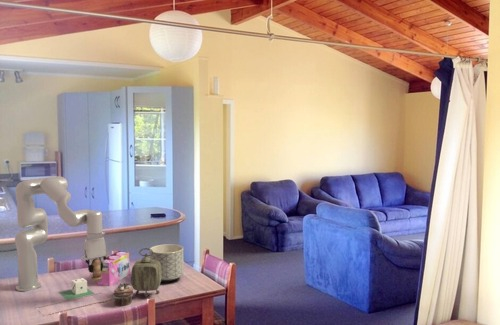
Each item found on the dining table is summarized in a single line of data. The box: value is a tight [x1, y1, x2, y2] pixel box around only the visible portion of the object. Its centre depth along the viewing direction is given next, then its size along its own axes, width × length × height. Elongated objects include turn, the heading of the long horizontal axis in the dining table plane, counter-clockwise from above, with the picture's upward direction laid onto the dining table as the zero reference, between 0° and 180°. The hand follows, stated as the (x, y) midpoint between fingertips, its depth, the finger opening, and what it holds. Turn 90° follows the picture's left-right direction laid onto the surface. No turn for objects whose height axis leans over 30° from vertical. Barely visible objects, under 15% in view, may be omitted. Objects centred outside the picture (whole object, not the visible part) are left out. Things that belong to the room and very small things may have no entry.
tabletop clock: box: [130, 247, 162, 298], centre depth 244 cm, size 14×9×25 cm, turn 92°
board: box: [35, 292, 113, 316], centre depth 233 cm, size 13×33×1 cm, turn 130°
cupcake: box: [112, 282, 134, 307], centre depth 234 cm, size 10×10×10 cm
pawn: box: [91, 258, 102, 282], centre depth 238 cm, size 5×5×11 cm
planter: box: [149, 243, 185, 283], centre depth 270 cm, size 19×19×18 cm
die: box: [71, 277, 88, 295], centre depth 249 cm, size 6×6×6 cm
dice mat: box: [58, 287, 96, 301], centre depth 248 cm, size 14×14×1 cm
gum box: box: [96, 250, 131, 287], centre depth 270 cm, size 24×8×14 cm, turn 165°
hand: (95, 270), depth 239 cm, fingers closed on pawn, 4 cm apart
